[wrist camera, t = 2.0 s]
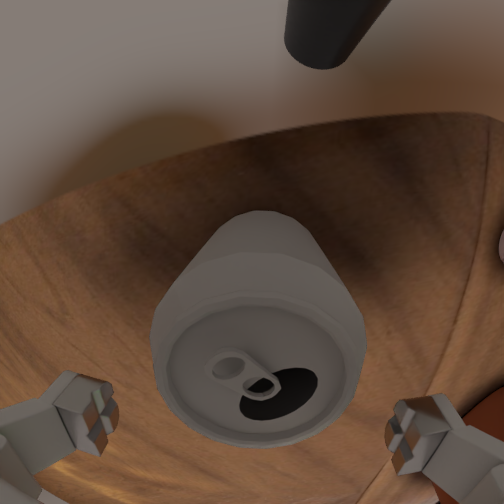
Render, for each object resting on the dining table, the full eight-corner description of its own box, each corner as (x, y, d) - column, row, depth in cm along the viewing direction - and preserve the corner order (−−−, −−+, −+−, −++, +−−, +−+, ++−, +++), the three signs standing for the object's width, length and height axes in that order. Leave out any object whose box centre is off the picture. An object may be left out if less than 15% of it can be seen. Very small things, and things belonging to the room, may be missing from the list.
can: (259, 337, 21) (250, 482, 9) (182, 263, 20) (91, 370, 8) (343, 269, 19) (420, 385, 8) (265, 183, 18) (262, 202, 7)
